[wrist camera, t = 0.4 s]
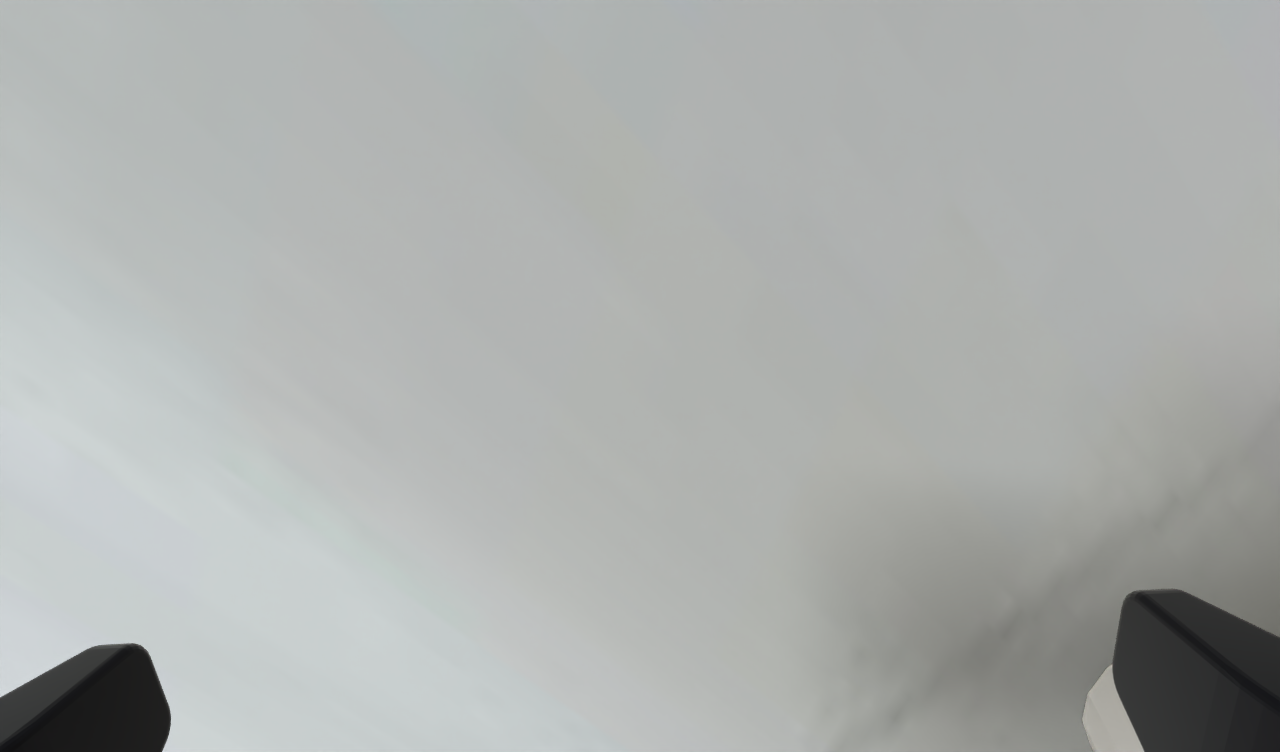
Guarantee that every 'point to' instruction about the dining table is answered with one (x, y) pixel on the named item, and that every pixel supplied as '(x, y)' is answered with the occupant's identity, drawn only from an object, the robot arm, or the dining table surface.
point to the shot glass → (1108, 718)
